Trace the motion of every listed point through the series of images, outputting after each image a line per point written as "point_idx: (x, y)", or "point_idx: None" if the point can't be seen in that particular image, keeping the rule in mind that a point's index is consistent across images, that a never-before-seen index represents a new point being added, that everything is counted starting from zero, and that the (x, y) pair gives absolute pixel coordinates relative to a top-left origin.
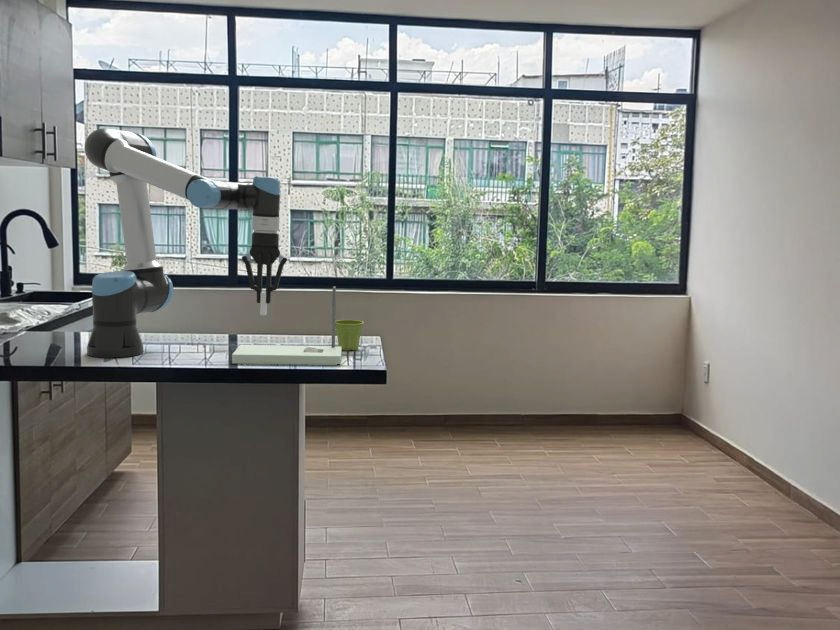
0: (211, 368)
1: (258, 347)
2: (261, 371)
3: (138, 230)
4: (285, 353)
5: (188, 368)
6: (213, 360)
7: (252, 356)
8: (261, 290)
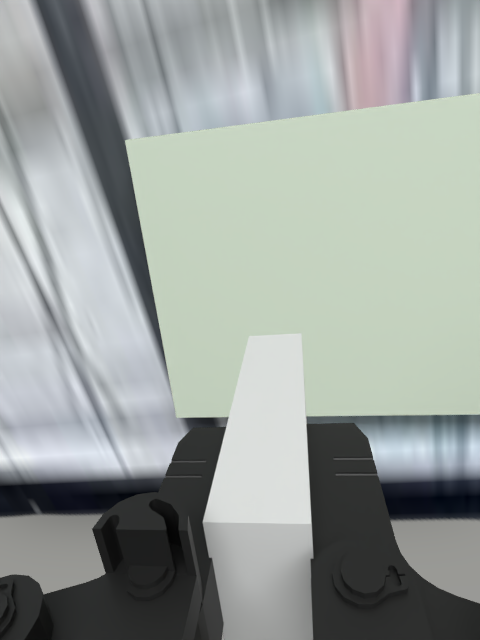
0: (147, 480)
1: (249, 217)
2: None
3: None
4: (422, 371)
5: (76, 483)
6: (96, 346)
7: None
8: (212, 615)
